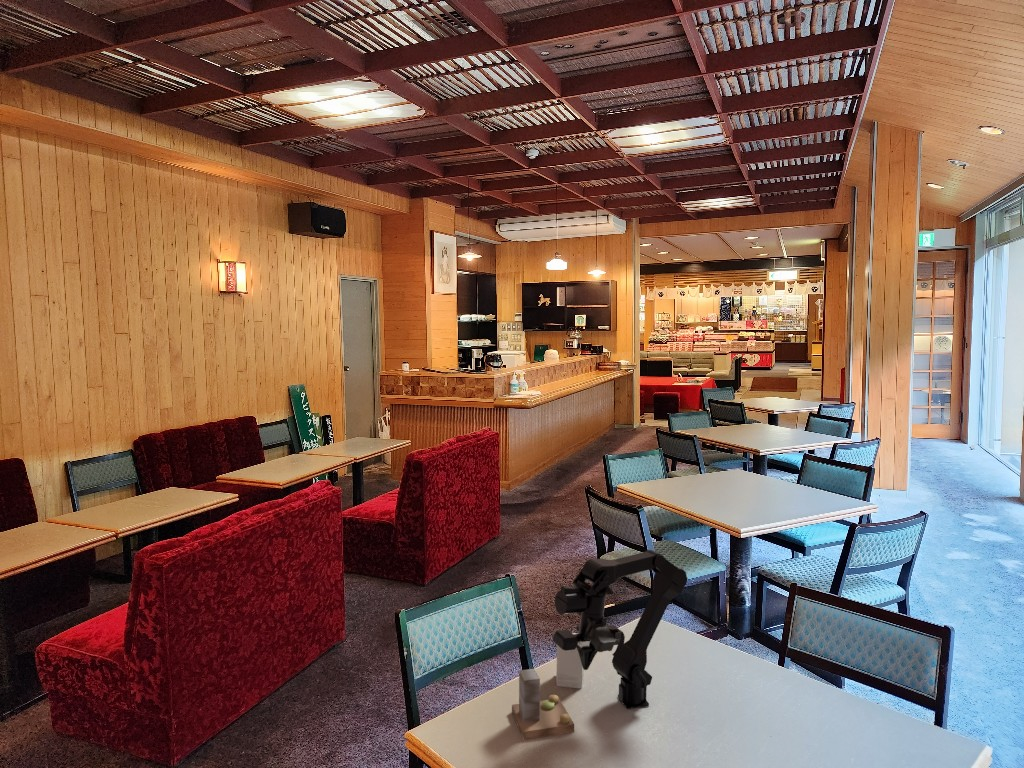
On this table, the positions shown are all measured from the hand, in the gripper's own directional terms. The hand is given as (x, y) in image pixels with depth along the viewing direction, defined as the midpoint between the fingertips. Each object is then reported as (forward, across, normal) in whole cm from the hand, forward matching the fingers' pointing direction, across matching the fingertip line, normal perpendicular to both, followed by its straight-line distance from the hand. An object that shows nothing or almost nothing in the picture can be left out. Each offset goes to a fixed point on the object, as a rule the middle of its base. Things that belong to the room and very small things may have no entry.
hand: (585, 669), depth 171 cm
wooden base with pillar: (+14, -10, +2) cm, 17 cm away
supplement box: (+12, +7, +16) cm, 21 cm away
